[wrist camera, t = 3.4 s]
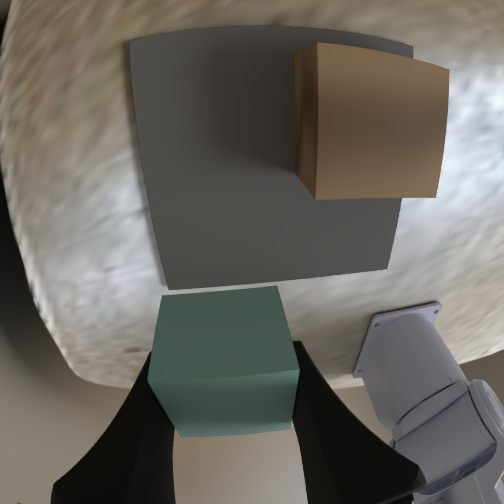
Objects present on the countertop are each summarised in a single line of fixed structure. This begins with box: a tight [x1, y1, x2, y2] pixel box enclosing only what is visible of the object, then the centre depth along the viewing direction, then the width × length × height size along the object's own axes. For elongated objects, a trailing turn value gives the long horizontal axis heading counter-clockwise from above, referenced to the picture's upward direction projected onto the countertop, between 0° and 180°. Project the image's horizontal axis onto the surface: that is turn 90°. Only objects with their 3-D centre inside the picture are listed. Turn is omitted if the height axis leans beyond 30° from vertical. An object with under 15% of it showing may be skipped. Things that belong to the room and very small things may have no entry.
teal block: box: [147, 286, 300, 437], centre depth 11 cm, size 4×4×4 cm
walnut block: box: [294, 42, 449, 200], centre depth 13 cm, size 7×7×4 cm
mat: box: [129, 26, 413, 290], centre depth 16 cm, size 16×16×1 cm
